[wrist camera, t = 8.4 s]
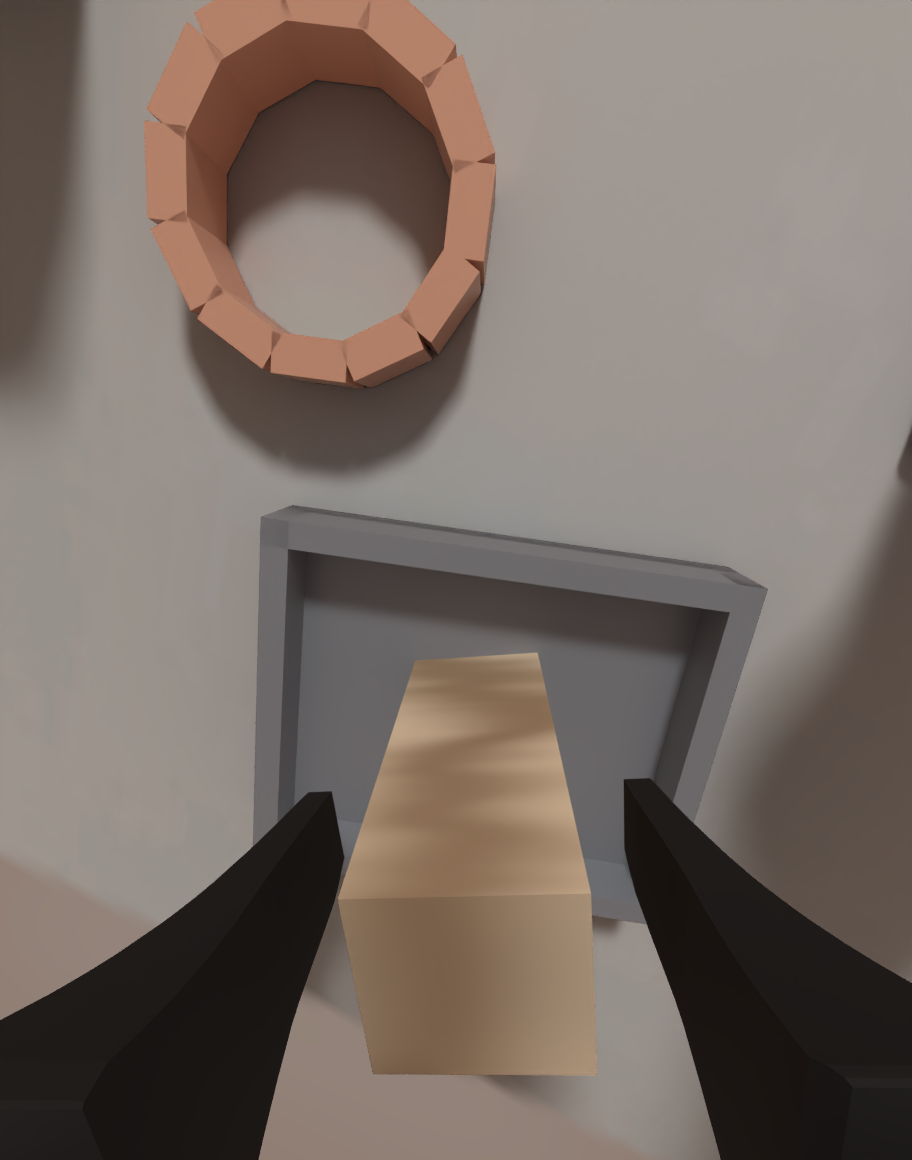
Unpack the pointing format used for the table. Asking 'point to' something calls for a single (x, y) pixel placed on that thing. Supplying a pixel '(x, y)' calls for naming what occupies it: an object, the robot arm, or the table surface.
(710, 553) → the table surface
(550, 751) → the oak peg
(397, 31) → the segmented block ring
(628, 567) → the tray
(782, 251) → the table surface
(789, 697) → the table surface
